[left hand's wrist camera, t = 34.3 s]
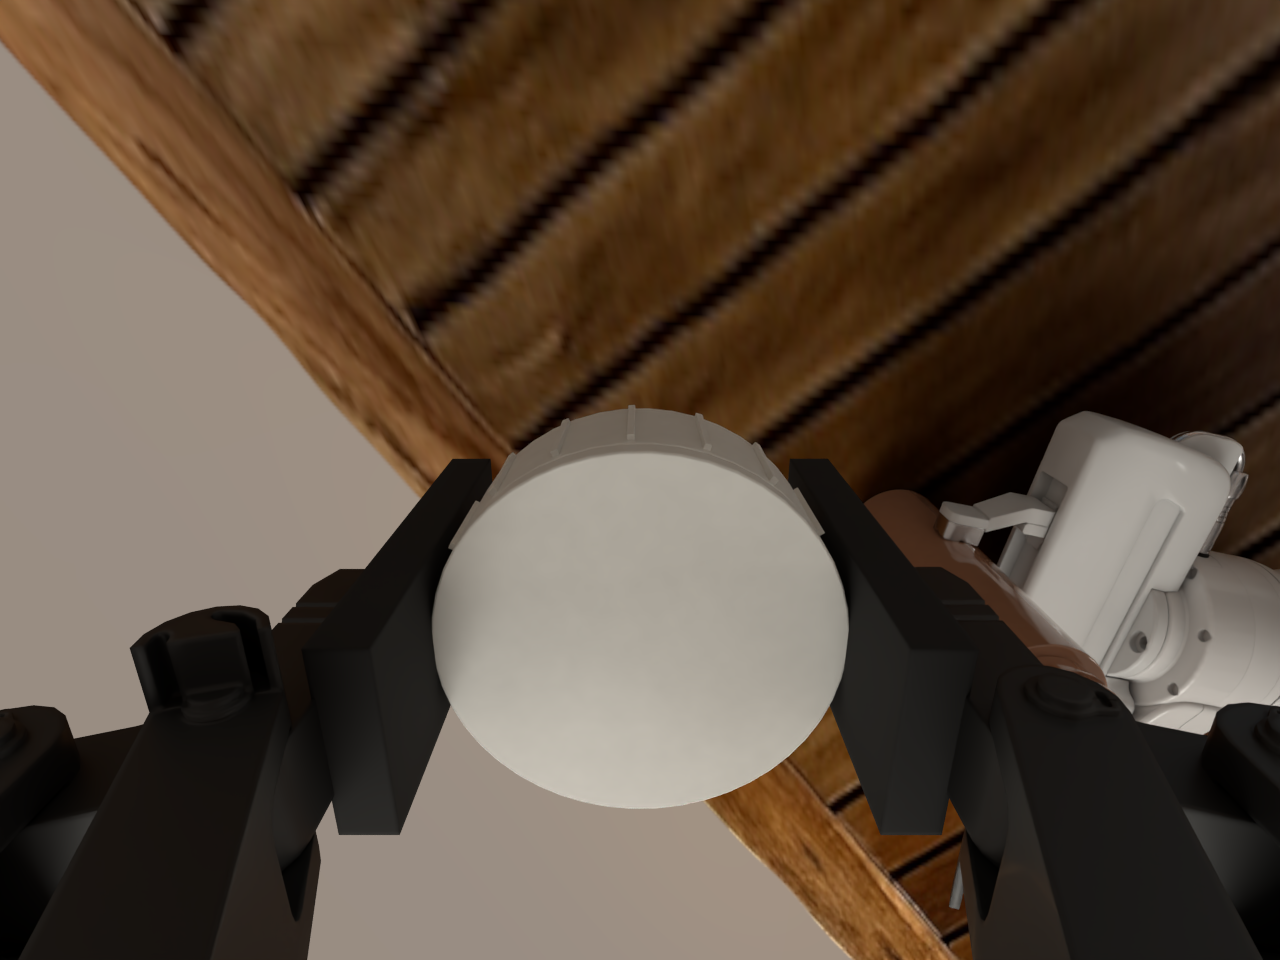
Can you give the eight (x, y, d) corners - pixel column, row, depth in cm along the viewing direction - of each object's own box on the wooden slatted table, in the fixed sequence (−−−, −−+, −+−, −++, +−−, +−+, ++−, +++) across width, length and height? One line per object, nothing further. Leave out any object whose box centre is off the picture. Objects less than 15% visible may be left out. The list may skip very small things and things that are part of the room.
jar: (923, 474, 40) (1125, 655, 23) (951, 550, 42) (1158, 769, 25) (834, 512, 41) (968, 713, 24) (865, 585, 43) (1010, 819, 26)
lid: (631, 771, 13) (630, 871, 11) (390, 564, 12) (337, 636, 10) (887, 586, 12) (938, 662, 10) (650, 322, 10) (653, 347, 8)
